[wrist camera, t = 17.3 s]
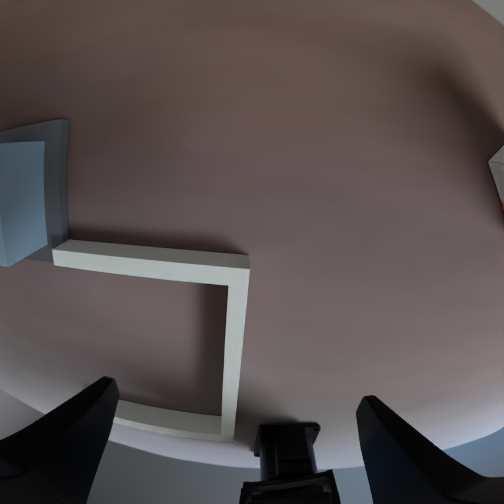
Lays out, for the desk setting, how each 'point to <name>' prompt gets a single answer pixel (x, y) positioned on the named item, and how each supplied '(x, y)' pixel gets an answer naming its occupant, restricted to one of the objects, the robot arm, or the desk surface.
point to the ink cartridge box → (498, 172)
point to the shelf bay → (180, 269)
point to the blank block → (21, 201)
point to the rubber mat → (49, 178)
